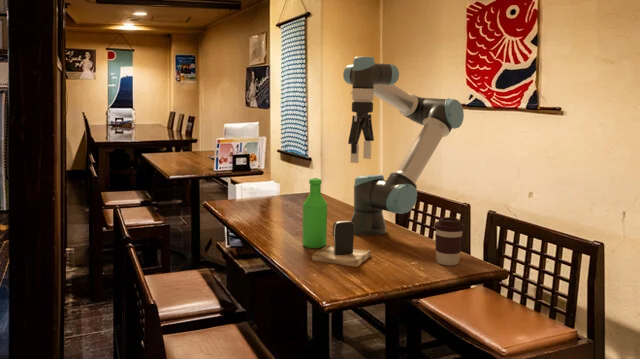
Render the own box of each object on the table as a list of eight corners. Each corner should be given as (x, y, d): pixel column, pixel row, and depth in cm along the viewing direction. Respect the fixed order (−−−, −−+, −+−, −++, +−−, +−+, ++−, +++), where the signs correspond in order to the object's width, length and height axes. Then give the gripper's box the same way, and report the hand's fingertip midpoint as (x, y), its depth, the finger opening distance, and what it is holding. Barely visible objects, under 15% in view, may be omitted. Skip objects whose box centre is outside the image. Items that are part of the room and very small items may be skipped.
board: (328, 249, 207) (328, 244, 207) (370, 255, 201) (370, 250, 200) (312, 260, 194) (312, 254, 194) (356, 266, 188) (357, 261, 188)
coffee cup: (426, 259, 197) (429, 217, 194) (451, 257, 200) (454, 215, 198) (442, 268, 188) (445, 223, 185) (468, 265, 191) (471, 221, 189)
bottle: (299, 247, 209) (300, 179, 205) (306, 241, 217) (306, 176, 213) (323, 249, 207) (324, 181, 203) (328, 243, 215) (330, 177, 211)
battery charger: (349, 251, 200) (350, 219, 199) (354, 254, 197) (354, 221, 195) (330, 252, 198) (331, 220, 196) (334, 255, 195) (335, 222, 193)
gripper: (364, 100, 217) (362, 156, 221) (339, 101, 195) (338, 163, 198) (383, 100, 214) (381, 157, 218) (360, 102, 192) (359, 165, 195)
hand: (360, 160), depth 208 cm, fingers open, 13 cm apart
